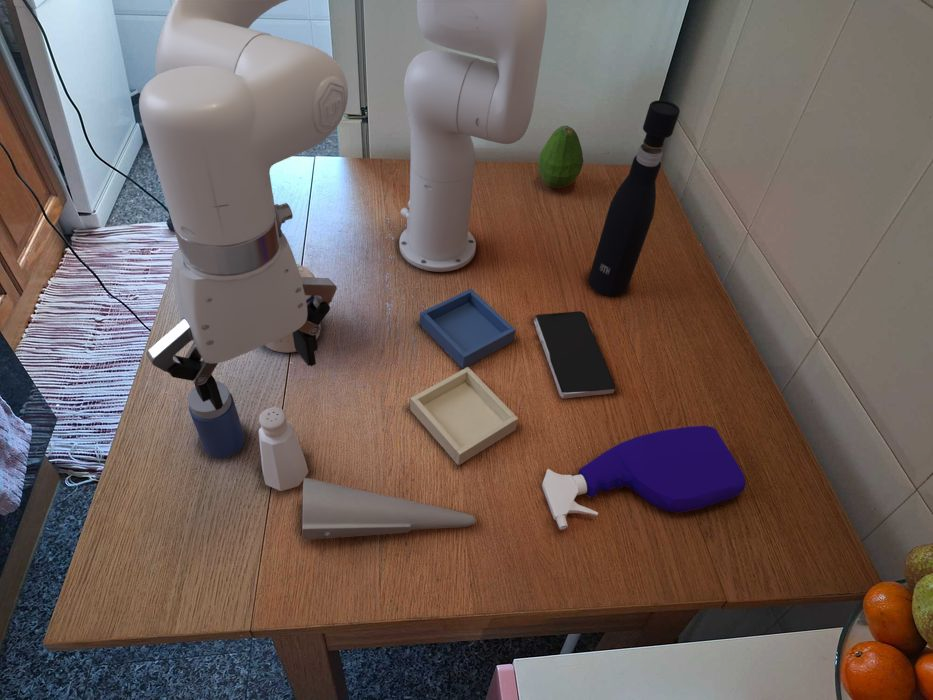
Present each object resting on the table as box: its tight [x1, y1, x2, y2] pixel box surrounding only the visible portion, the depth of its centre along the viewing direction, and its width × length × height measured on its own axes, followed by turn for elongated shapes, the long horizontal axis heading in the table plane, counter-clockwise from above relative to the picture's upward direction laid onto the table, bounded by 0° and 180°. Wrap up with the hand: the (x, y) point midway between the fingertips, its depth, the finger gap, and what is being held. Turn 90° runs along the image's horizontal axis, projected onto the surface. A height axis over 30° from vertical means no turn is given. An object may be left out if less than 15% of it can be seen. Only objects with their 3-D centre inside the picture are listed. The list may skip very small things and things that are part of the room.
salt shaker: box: [258, 407, 309, 492], centre depth 72 cm, size 5×5×11 cm
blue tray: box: [419, 288, 517, 370], centre depth 93 cm, size 10×9×2 cm
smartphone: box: [533, 310, 616, 399], centre depth 93 cm, size 8×1×15 cm
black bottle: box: [587, 99, 681, 297], centre depth 93 cm, size 6×6×30 cm
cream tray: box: [409, 366, 519, 466], centre depth 83 cm, size 10×9×2 cm
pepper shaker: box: [187, 380, 246, 459], centre depth 75 cm, size 5×5×9 cm
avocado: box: [538, 125, 584, 189], centre depth 118 cm, size 8×8×12 cm
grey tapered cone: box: [301, 477, 477, 541], centre depth 73 cm, size 6×6×19 cm
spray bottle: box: [541, 425, 747, 531], centre depth 78 cm, size 3×11×24 cm
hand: (261, 377), depth 63 cm, fingers open, 9 cm apart
